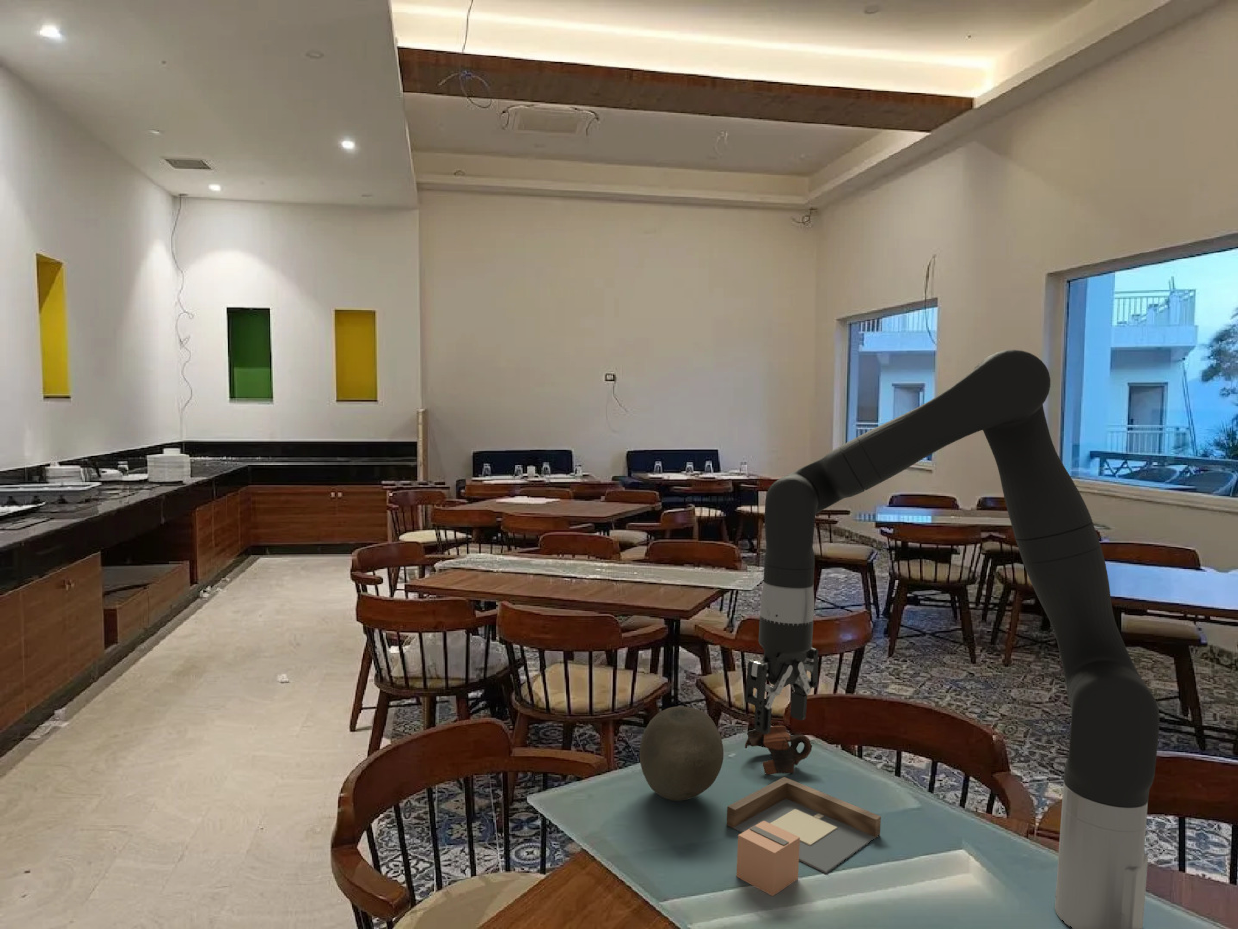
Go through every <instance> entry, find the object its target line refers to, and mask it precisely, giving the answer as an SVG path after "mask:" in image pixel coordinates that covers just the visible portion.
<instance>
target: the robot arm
mask: <svg viewBox="0 0 1238 929" xmlns="http://www.w3.org/2000/svg"><path fill="white" fill-rule="evenodd" d="M1050 388H1051V374H1050V372H1049V369H1048V368H1047V366H1046V364H1045V363H1044V362H1043V360H1041V359H1040V358H1039V357H1037V356H1036V355H1035V354H1032V353H1031V352H1028V351H1024V350H1019V349H1005V350H1001V351H997V352H994V353H992V354H990V355H988V356H987V357H985V358H984V359H983V360H981V361H980V362H979V363H978V364H977V365H976V366H975V367H974V369H973V370H972V371H971V372H970V373H968V374H967V375H966V376H963V378H961V380H959V381H958V382H957V383H955V384H953V385H952V386H951V387H950V388H948V389H946V390H945V391H943V392H942V393H940V394H939V395H937V396H935V397H934V398H931V400H929V401H926V402H925V403H923V404H921V405H920V406H917V407H916V408H914V409H912V410H910V411H908V412H906V413H904V414H901V415H899V416H897V417H895V418H894V419H891V420H889V421H886V422H885V423H882V424H880V425H878V426H876V427H874V428H871V429H870V430H868V431H866V432H864V433H862V434H861V435H859V436H856V437H855V438H853V439H850V440H849V441H847V442H845V443H844V444H842V445H840V446H838V447H836V448H835V449H833V450H831V451H830V452H828V453H827V454H826V455H825V456H823V457H822V458H819V459H817V460H815V461H813V462H811V463H809V464H807V465H805V466H803V467H800V468H798V469H796V470H794V471H792V472H790V473H788V474H786V475H784V476H782V477H780V478H779V479H777V480H775V481H774V482H773V483H772V484H771V485H770V486H769V488H768V490H767V492H766V495H765V501H764V534H765V535H764V536H765V545H766V546H765V554H764V563H763V564H764V565H763V581H762V589H761V594H760V602H759V604H760V605H759V606H760V607H759V623H758V624H759V625H758V644H759V645H760V646H761V648H762V649H763V652H764V653H763V656H762V660H760V661H756V660H753V659H750V660H748V663H747V671H746V683H745V693H744V701H745V703H747V704H750V705H753V706H754V722H753V723H754V729H756V731H758V732H760V733H763V734H768V733H770V731H771V727H772V710H773V708H772V705H773V703H774V701H775V699H776V697H777V696H779V695H780V694H781V693H782V691H783V689H784V688H786V687H787V686H788V685H790V687H791V689H792V690H793V691H792V692H791V697H790V717H791V718H793V719H794V720H795V719H796V720H798V721H803V720H805V719H806V718H807V716H806V715H807V704H808V695H809V694H810V693H811V690H812V688H813V689H816V688H817V687H818V684H819V682H818V681H819V649H818V648H815V647H813V633H814V614H815V610H814V609H815V595H814V594H815V593H814V592H815V591H814V584H815V583H814V580H815V564H816V563H815V550H814V548H813V547H814V533H815V524H816V523H815V522H816V515H817V514H818V513H820V512H822V511H823V510H826V509H827V508H829V507H831V506H833V505H835V504H837V503H839V502H840V501H842V500H843V499H846V498H847V499H848V498H853V497H855V496H858V495H859V494H861V493H864V492H865V491H867V490H868V491H869V489H871V488H873V487H875V486H878V485H879V484H881V483H883V482H885V481H887V480H889V479H890V478H893V477H894V476H896V475H898V474H900V473H901V472H903V471H905V470H907V469H908V468H910V467H912V466H913V465H915V464H916V463H918V462H920V461H922V460H923V459H925V458H927V457H929V456H931V455H932V454H934V453H936V452H937V451H940V450H941V449H944V448H945V447H947V446H949V445H951V444H953V443H955V442H957V441H959V440H962V439H964V438H966V437H968V436H970V435H973V434H976V433H979V432H980V431H981V432H982V431H983V432H982V433H983V434H984V436H985V438H986V441H987V443H988V445H989V447H990V450H991V452H992V455H993V457H994V460H995V464H996V467H997V469H998V475H999V479H1000V483H1001V489H1002V493H1003V497H1004V501H1005V505H1006V510H1007V513H1008V517H1009V520H1010V524H1011V528H1012V531H1013V535H1014V539H1015V542H1016V544H1017V547H1018V551H1019V554H1020V558H1021V560H1022V562H1023V566H1024V569H1025V571H1026V574H1027V576H1028V579H1029V580H1030V583H1031V586H1032V587H1033V590H1034V593H1035V594H1036V597H1037V599H1038V600H1039V602H1040V604H1041V607H1042V608H1043V610H1044V612H1045V614H1046V616H1047V618H1048V620H1049V623H1050V625H1051V627H1052V630H1053V632H1054V635H1055V639H1056V643H1057V647H1058V652H1059V657H1060V660H1061V665H1062V670H1063V675H1064V679H1065V680H1064V681H1065V687H1066V694H1067V699H1068V703H1069V706H1070V709H1071V718H1070V720H1071V722H1070V733H1069V746H1068V753H1067V754H1068V755H1067V759H1066V761H1065V762H1064V768H1063V770H1064V771H1063V772H1064V773H1063V785H1062V786H1063V788H1062V797H1061V798H1062V800H1061V801H1062V802H1061V814H1060V826H1059V827H1060V829H1059V830H1060V831H1059V845H1058V856H1057V857H1058V858H1057V869H1056V870H1057V871H1056V873H1057V874H1056V885H1055V887H1056V888H1055V900H1054V901H1055V903H1054V904H1055V905H1054V908H1055V909H1054V911H1055V914H1057V917H1058V918H1059V919H1060V920H1061V921H1062V920H1063V921H1064V922H1063V921H1062V922H1063V923H1064V924H1065V925H1066V926H1068V927H1070V926H1071V927H1072V928H1071V927H1070V928H1071V929H1143V928H1144V916H1145V903H1146V889H1147V878H1148V877H1147V875H1148V866H1149V864H1148V863H1149V862H1148V861H1149V857H1148V855H1147V854H1145V842H1146V830H1147V829H1146V828H1147V818H1148V817H1147V816H1148V803H1149V795H1150V789H1151V787H1152V785H1153V783H1154V779H1155V775H1156V764H1157V763H1156V762H1157V753H1158V747H1159V746H1158V744H1159V734H1160V733H1159V732H1160V710H1159V706H1158V702H1157V699H1156V698H1155V696H1154V694H1153V693H1152V691H1151V690H1150V688H1149V687H1148V685H1147V684H1146V682H1145V681H1144V679H1143V677H1142V676H1141V675H1140V673H1139V672H1138V670H1137V668H1136V665H1135V664H1134V662H1133V660H1132V658H1131V655H1130V654H1129V652H1128V649H1127V647H1126V644H1125V642H1124V640H1123V637H1122V635H1121V633H1120V630H1119V627H1118V625H1117V622H1116V620H1115V616H1114V611H1113V605H1112V599H1111V598H1112V596H1111V589H1110V581H1109V575H1108V570H1107V565H1106V560H1105V557H1104V556H1105V555H1104V553H1103V549H1102V546H1101V542H1100V540H1099V537H1098V534H1097V530H1096V529H1095V528H1096V527H1095V525H1094V522H1093V518H1092V516H1091V514H1090V511H1089V509H1088V507H1087V505H1086V502H1085V500H1084V499H1083V496H1082V494H1081V492H1080V491H1079V489H1078V487H1077V485H1076V483H1075V482H1074V480H1073V478H1072V476H1071V475H1070V474H1069V471H1067V469H1066V467H1065V466H1064V464H1063V462H1062V460H1061V458H1060V456H1059V455H1058V452H1057V450H1056V448H1055V445H1054V444H1053V443H1054V442H1053V440H1052V437H1051V433H1050V428H1049V426H1048V423H1047V418H1046V413H1045V409H1044V404H1045V402H1046V400H1047V398H1048V396H1049V393H1050V390H1051V389H1050ZM808 672H809V673H810V677H808ZM767 681H768V682H769V683H768V684H767ZM754 689H756V691H755V692H754ZM766 692H767V693H768V694H767V696H766ZM1142 927H1143V928H1142Z"/></svg>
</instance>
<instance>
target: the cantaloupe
mask: <svg viewBox="0 0 1238 929" xmlns="http://www.w3.org/2000/svg"><path fill="white" fill-rule="evenodd" d="M640 740H641V741H640V745H639V762H640V764H639V765H640V767H641V771H642V774H643V776H644V778H645V780H646V782H647V784H648V786H649V787H650V789H651V790H653V792H654V793H656V794H657V795H659V796H660V797H662V798H664V799H666V800H668V801H673V802H679V801H687V800H690V799H693V798H696V797H697V796H699V795H701V794H702V793H704V792H705V791H706V790H709V788H711V786H712V785H713V784H714V782H715V781H716V779H717V777H718V776H719V774H720V771H721V768H722V766H723V763H724V745H723V739H722V736H721V734H720V732H719V729H718V727H717V725H716V724H715V722H714V720H713V719H712V718H711V716H709V714H707V713H705V711H703V710H701V709H698V708H695V707H689V706H683V705H681V706H672V707H668V708H665V709H663V710H661V711H659V712H658V713H657V714H656V715H654V716H653V718H652V719H650V721H649V723H648V724H647V725H646V727H645V729H644V731H643V734H642V737H641V739H640Z"/></svg>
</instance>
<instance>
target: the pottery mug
mask: <svg viewBox="0 0 1238 929" xmlns="http://www.w3.org/2000/svg"><path fill="white" fill-rule="evenodd" d="M746 735H747V739H746V740H745V744H744V748H745V749H747V748H748V747H752V748H753V747H761V748H765V749H767V750H768V751H769V753H770V754H771V757H772V759H771V760H766V761H763V762H762V768H763V770H764V774H765V773H766V774H767V775H776V774H784V775H785V774H792V773H794V772H795V766H798V765H799V762H801V761H802V760H805V759H807V758H808V756H810V754H811V752H812V748H813V745H812V744H811V740H810V738H809V737H807V735H804V734H794V735H791V734H790V733H788V732H787V726H784V725H773V726H771V731H770V733H768V734H763V733H760V732H758V731H756V729H755V728H754V729H752V730H749V731H747V732H746ZM801 743H802V744H803V749H802V750H801V751H800V752H799V751H798V747H799V744H801ZM766 774H765V775H766ZM767 775H766V776H767Z"/></svg>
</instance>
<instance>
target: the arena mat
mask: <svg viewBox="0 0 1238 929" xmlns="http://www.w3.org/2000/svg"><path fill="white" fill-rule="evenodd" d="M762 821H766V822H768V823H770V824H772V825H774V826H777V827H779V828H781V829H783V830H785V831H787V832H790V833H792V834H794V835H796V836H798V837H800V846H799V862H801V863H803V864H805V865H807V866H810V867H811V868H814V869H816V870H817V871H820V872H821V873H824V874H828V873H829V872H831V871H832V870H833V869H834V868H836V867H838V866H839V865H840V863H841V864H842V863H843V862H845V861H846V860H847V858H848V859H849V858H850V857H852V856H853V855H855V854H856V853H857V852H859V851H860V850H862V849H863V848H864V847H866V846H867V845H869V844H870V843H871V842H872V841H871V840H873V839H874V840H875V837H874V836H872V835H870V834H867V833H865V832H863V831H860V830H858V829H856V828H853V827H851V826H849V825H846V824H844V823H842V822H839V821H837V820H835V819H832V818H830V817H828V816H825V815H823V814H821V813H819V812H816V811H814V810H812V809H809V808H807V807H805V806H802V805H800V804H798V803H795V802H793V801H791V800H788V799H784V800H782V801H781V802H779V803H777V804H775V805H773V806H771V807H770V808H768V809H766V810H764V811H762V812H761V813H759V814H757V815H755V816H753V817H752V818H750V819H748V820H746V821H744V822H743V823H741V824H739V825H737V826H735V827H734V830H735V831H738V832H740V833H743V832H744V831H746V830H748V829H750V828H751V827H753V826H755V825H757V824H759V823H760V822H762ZM874 840H873V841H874ZM870 841H871V842H870ZM869 842H870V843H869ZM868 843H869V844H868ZM865 845H866V846H865ZM863 846H864V847H863ZM862 847H863V848H862ZM861 848H862V849H861ZM858 850H859V851H858ZM855 852H856V853H855ZM854 853H855V854H854ZM845 859H846V860H845ZM844 860H845V861H844ZM837 865H838V866H837Z"/></svg>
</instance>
